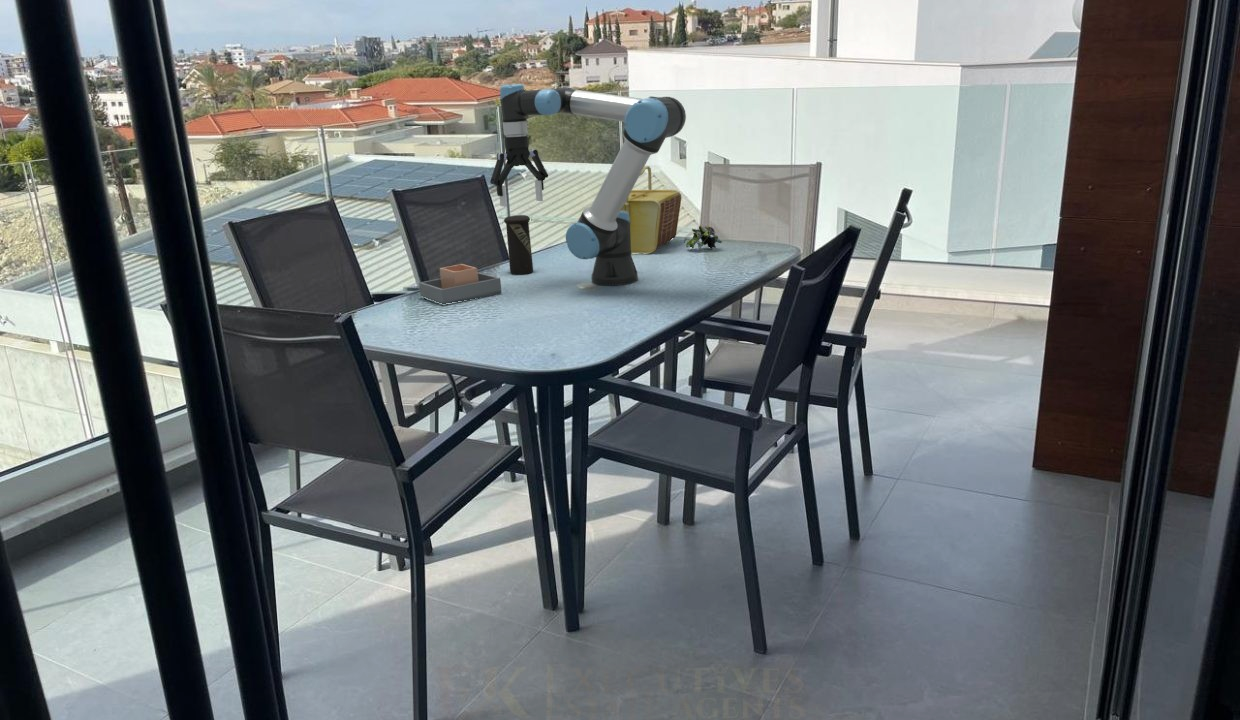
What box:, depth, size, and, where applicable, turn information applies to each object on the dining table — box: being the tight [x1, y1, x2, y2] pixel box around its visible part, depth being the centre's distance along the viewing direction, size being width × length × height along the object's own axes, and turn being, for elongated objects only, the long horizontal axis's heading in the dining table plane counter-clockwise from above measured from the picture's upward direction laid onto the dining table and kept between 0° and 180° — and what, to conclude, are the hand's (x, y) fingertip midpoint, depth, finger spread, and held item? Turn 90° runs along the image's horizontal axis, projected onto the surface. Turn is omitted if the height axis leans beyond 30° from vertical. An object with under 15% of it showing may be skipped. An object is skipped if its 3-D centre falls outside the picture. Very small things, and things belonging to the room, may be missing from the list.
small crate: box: [439, 263, 479, 289], centre depth 289 cm, size 10×8×8 cm
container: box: [503, 214, 534, 275], centre depth 317 cm, size 9×9×20 cm
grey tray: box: [418, 271, 503, 304], centre depth 290 cm, size 16×21×5 cm
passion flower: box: [683, 225, 723, 252], centre depth 339 cm, size 11×11×12 cm
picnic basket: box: [621, 165, 682, 254], centre depth 348 cm, size 29×26×30 cm
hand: (521, 203), depth 293 cm, fingers open, 13 cm apart
